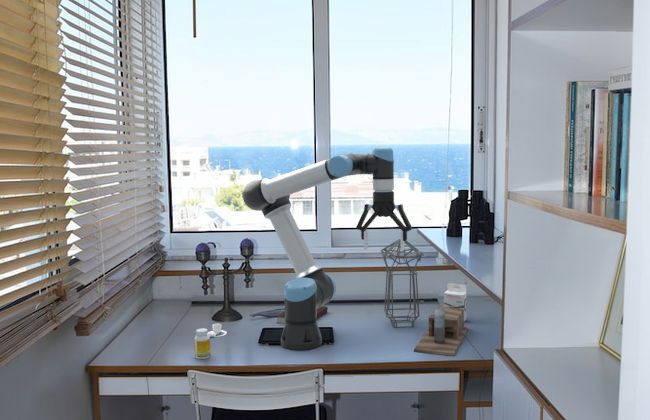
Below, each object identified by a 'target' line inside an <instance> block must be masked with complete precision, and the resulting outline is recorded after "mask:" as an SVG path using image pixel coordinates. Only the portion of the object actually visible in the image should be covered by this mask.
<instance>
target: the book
mask: <svg viewBox="0 0 650 420" xmlns="http://www.w3.org/2000/svg"><path fill="white" fill-rule="evenodd" d="M326 314H328V306H326V305H324V306H322V307H320V308H318V309H317V320H318V319H320V318H321V317H323V316H324V315H326ZM276 319H277V322H275V323H276V324H282V325H285V311H284V312H282V313H280V314H278V315H276Z"/></svg>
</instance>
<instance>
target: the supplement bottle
mask: <svg viewBox="0 0 650 420" xmlns="http://www.w3.org/2000/svg"><path fill="white" fill-rule="evenodd" d="M208 330H209V329H207V328H204V327H202V328H196V329H195V334H196V335H195V336H194V338H193V342H194V344H193V345H194V357H195V359H198V360H205V359H208V358H210V357H211V337H210V336H209V335H207V334H208V332H209V331H208Z"/></svg>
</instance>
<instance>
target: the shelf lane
mask: <svg viewBox="0 0 650 420" xmlns="http://www.w3.org/2000/svg"><path fill="white" fill-rule="evenodd" d="M438 308H440V309H444V310H445V322H454V329H453V332H447V331H446V332H445V340H444V343H443V344H437V343H435V342H434V310H433V311H432V313H431V314H430V315H429V317H428V329H427V330H426V332H425V333H424V335H422V337H421V338H420V339H419V341H418V343H417V344H416V345H415V346H414V348H413V352H416V353H423V354H433V355H442V356H450V357H455V356H456V353H457V351H458V350H459V348H460V345H461V344H462V341H463V340H464V338H465V336H466V334H467V333H468V331H469V326H465V324H464V322H465V321H464V309H459V308H447V307H444V306H436V308H435V309H438Z"/></svg>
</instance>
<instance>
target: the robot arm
mask: <svg viewBox="0 0 650 420" xmlns="http://www.w3.org/2000/svg"><path fill="white" fill-rule="evenodd" d="M394 165H395V159H394V150H393V148H392V147H375V148H372V152H370V153H345V154H343V153H341V154H337V155H333V156H332V157H330V158H328V159H324V160H322V161H318V162H316V163H313V164H310V165H308V166H306V167H302V168H299V169H296V170H293V171H291V172H287V173H285V174H282V175H279V176H276V177H273V178H271V177H269V178H268V177H265V178H262V179H257V180H253V181H250V182H249V183H247V184H246V185H245V186H244V188H243V191H242V200H243V202H244V204H245V206H246V207H248V209H250V210H253V211H257V212H259V211H261V213H262V214H263V217H264V218H265V219H268V220H269V221H270V222H271V224H272V226H273V229H274V230H275V233H276V235H277V236H278V239H279V241H280V243H281V245H282V248H283V249H284V251H285V253H286V256H287V258H288V259H289V262H290V264H291V266H292V268H293V270H294V272H295V275H296V276H295V278H294V279H291V280H288V281H287V282H286V283H285V285H284V291H283V296H284V312H285V324H284V327H283V330H282V333H281V337H280V345H281V347H283V348H285V349H288V350H295V351H306V350H312V349H316V348H318V347H320V346H322V344H323V338H322V334H321V330H320V327H319V325H318V321H317V320H318V319H317V309H318V308H320V307H322V306H326V305H327V304H329V303H330V302H331V301H332V300H333V299H334V297H335V295H336V291H337V285H336V283H335V280H334V279H333V277H332V276H331V275H329V274H327V273H326V272H325V271H324V268H323V267H322V266H320V265H318V264H316V261H315V259H314V257H313V255H312V253H311V250H310V248H309V247H308V245H307V243H306V241H305V237H304V236H303V235H302V234H303V233H302V232H301V230H300V227H299V226H298V224H297V222H296V220H295V218H294V216H293V214H292V212H291V208H292V203H291V201H290V196H291V195H292V194H295V193H299V192H301V191H305V190H307V189H311V188H314V187H317V186H320V185H323V184H326V183H329V182H331V181H335V180H338V179H341V178H344V177H349V176H356V175H358V176H359V175H372V190H373V192H372V204H370V203H366V204H364V205H363V206H364V207H363V212H362V214H361V216H360V219H359V221H358V223H357V224H356V227H355V228H356V229H357V230H359V231H360V232H361V233H360V234H361V235H360V237H361V240H363V249H364V250H367V249H369V230H367V229H368V228H369V226H370V225H371V224H372V222H374V220H375V219H376V218H377V217H379V218H380V217H381V218H382V217H384V218H388V217H389V218H390V219H392V220H393V221H394V224H396V225H397V227H398V228H399V229H400V230H401V232H400V237H399V239H401V248H400V251H403V250H404V248H405V243H404V241H408V232H410V231H411V230H413V226H412V224H411V222H410V220H409V218H408V217H407V214H406V213H405V210H404V205H403V204H402V203H400V204H396V205H395V192H394V189H395V179H394V178H395V176H394V174H395V171H394V170H395V169H394V167H395V166H394ZM371 209H372V211H373V213H372V214H371V216H370V217H369V218H368V219H367V221H366V222H365V220H366V218H367V216H368V214H369V211H370V210H371ZM395 209H396V210H397V212H398V214H399V215H400V217H401V219H399V218H398V216H397V214H396V213H395V212H394V211H395ZM401 220H402V221H403V222H402V221H401ZM403 223H404V224H403Z"/></svg>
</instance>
